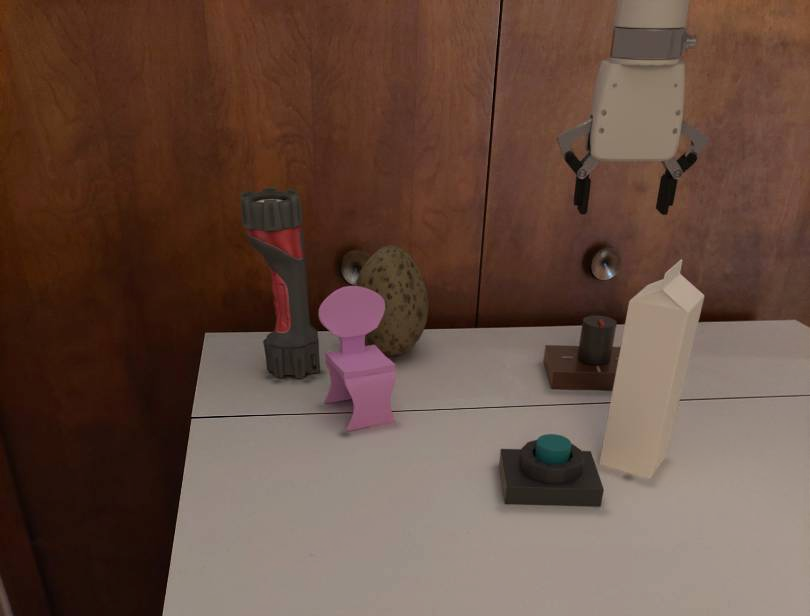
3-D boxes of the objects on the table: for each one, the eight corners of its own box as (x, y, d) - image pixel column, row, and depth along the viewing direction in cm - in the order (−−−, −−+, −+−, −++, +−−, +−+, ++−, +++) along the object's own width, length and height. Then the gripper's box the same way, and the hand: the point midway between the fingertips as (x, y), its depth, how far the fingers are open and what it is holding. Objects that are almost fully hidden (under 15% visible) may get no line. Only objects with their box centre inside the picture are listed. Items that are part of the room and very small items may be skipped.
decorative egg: (441, 353, 115) (447, 247, 107) (389, 375, 109) (390, 263, 100) (388, 333, 121) (389, 230, 113) (336, 352, 115) (332, 245, 106)
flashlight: (245, 369, 110) (226, 191, 96) (291, 355, 114) (279, 182, 101) (278, 388, 105) (263, 203, 92) (325, 372, 109) (317, 194, 96)
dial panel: (627, 363, 114) (631, 345, 112) (641, 391, 106) (645, 372, 105) (543, 361, 114) (545, 343, 112) (551, 388, 106) (553, 370, 105)
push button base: (587, 468, 90) (593, 436, 88) (600, 507, 83) (606, 474, 81) (498, 465, 90) (502, 434, 88) (504, 504, 83) (508, 471, 81)
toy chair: (340, 434, 95) (336, 311, 86) (316, 403, 102) (310, 286, 93) (404, 422, 98) (406, 301, 89) (376, 393, 104) (376, 278, 96)
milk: (666, 457, 92) (714, 263, 79) (649, 480, 88) (698, 279, 75) (615, 442, 95) (654, 252, 82) (597, 464, 91) (635, 267, 78)
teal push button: (566, 448, 86) (568, 434, 85) (571, 465, 83) (573, 451, 82) (533, 447, 86) (535, 433, 85) (536, 464, 83) (538, 450, 82)
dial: (574, 351, 110) (580, 312, 107) (606, 352, 110) (613, 313, 107) (580, 364, 107) (586, 324, 104) (613, 365, 107) (620, 325, 104)
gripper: (715, 44, 90) (684, 205, 100) (561, 44, 91) (546, 204, 101) (736, 50, 84) (701, 220, 94) (571, 50, 85) (554, 219, 94)
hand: (621, 212), depth 97 cm, fingers open, 9 cm apart
